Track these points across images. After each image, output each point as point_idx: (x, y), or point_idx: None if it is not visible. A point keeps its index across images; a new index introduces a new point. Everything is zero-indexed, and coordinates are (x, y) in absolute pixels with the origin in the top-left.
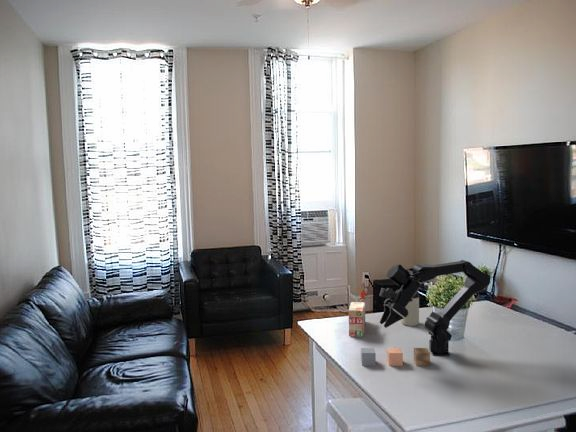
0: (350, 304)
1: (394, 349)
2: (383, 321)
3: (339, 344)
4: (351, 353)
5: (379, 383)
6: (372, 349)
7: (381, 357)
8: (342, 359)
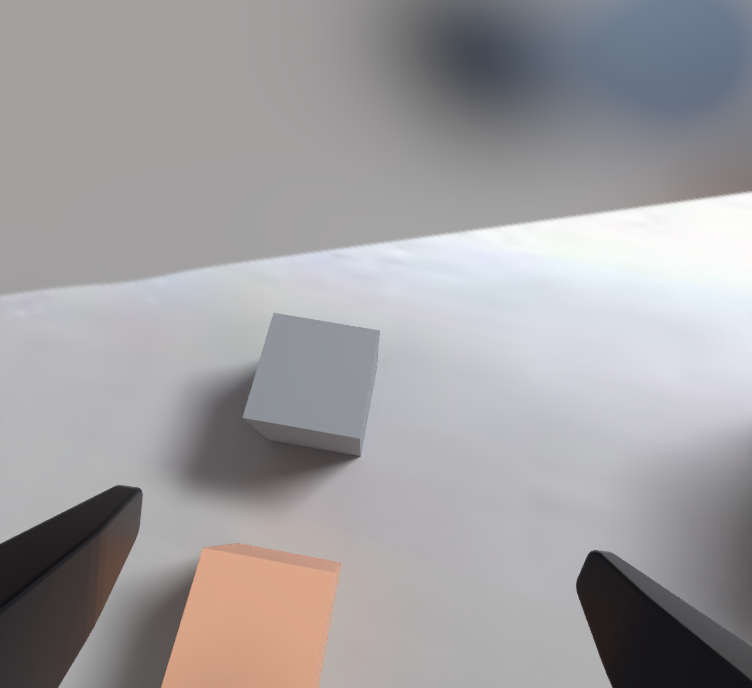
0: None
1: (275, 645)
2: (609, 638)
3: (659, 297)
4: (499, 335)
5: (4, 385)
6: (327, 414)
7: (403, 531)
8: (408, 265)
